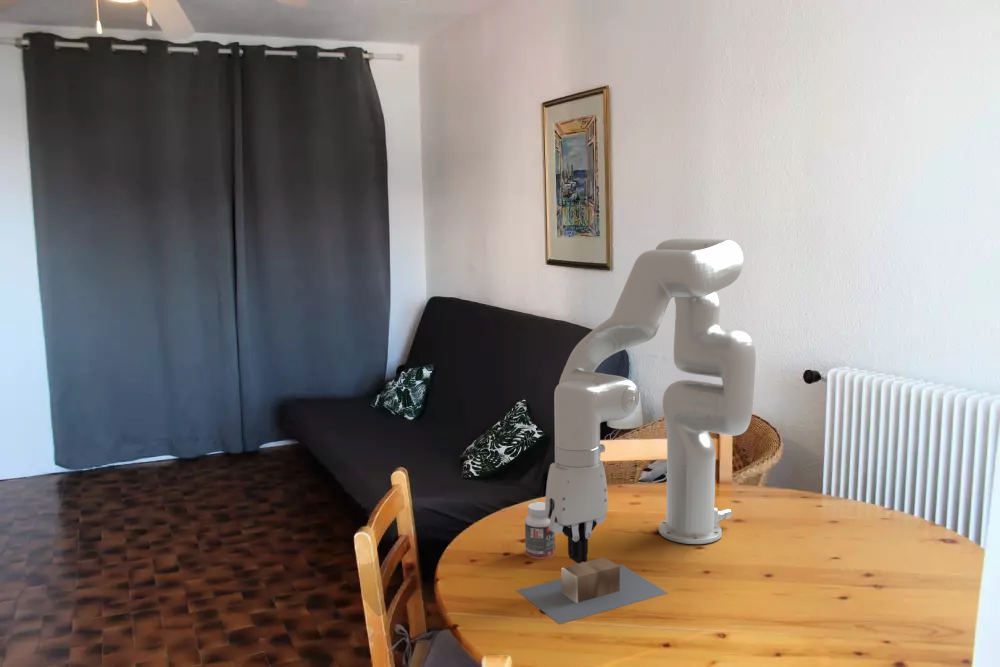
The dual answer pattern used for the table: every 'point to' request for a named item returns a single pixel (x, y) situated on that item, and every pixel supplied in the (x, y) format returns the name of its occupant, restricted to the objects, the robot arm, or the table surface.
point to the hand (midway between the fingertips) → (577, 559)
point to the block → (590, 579)
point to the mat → (567, 610)
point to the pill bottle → (538, 532)
